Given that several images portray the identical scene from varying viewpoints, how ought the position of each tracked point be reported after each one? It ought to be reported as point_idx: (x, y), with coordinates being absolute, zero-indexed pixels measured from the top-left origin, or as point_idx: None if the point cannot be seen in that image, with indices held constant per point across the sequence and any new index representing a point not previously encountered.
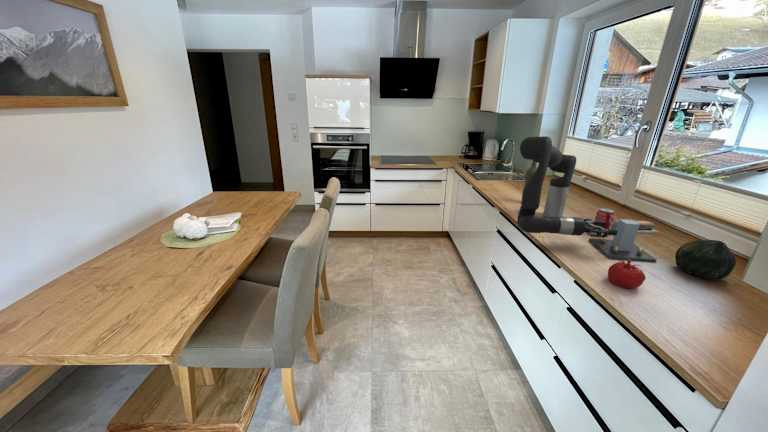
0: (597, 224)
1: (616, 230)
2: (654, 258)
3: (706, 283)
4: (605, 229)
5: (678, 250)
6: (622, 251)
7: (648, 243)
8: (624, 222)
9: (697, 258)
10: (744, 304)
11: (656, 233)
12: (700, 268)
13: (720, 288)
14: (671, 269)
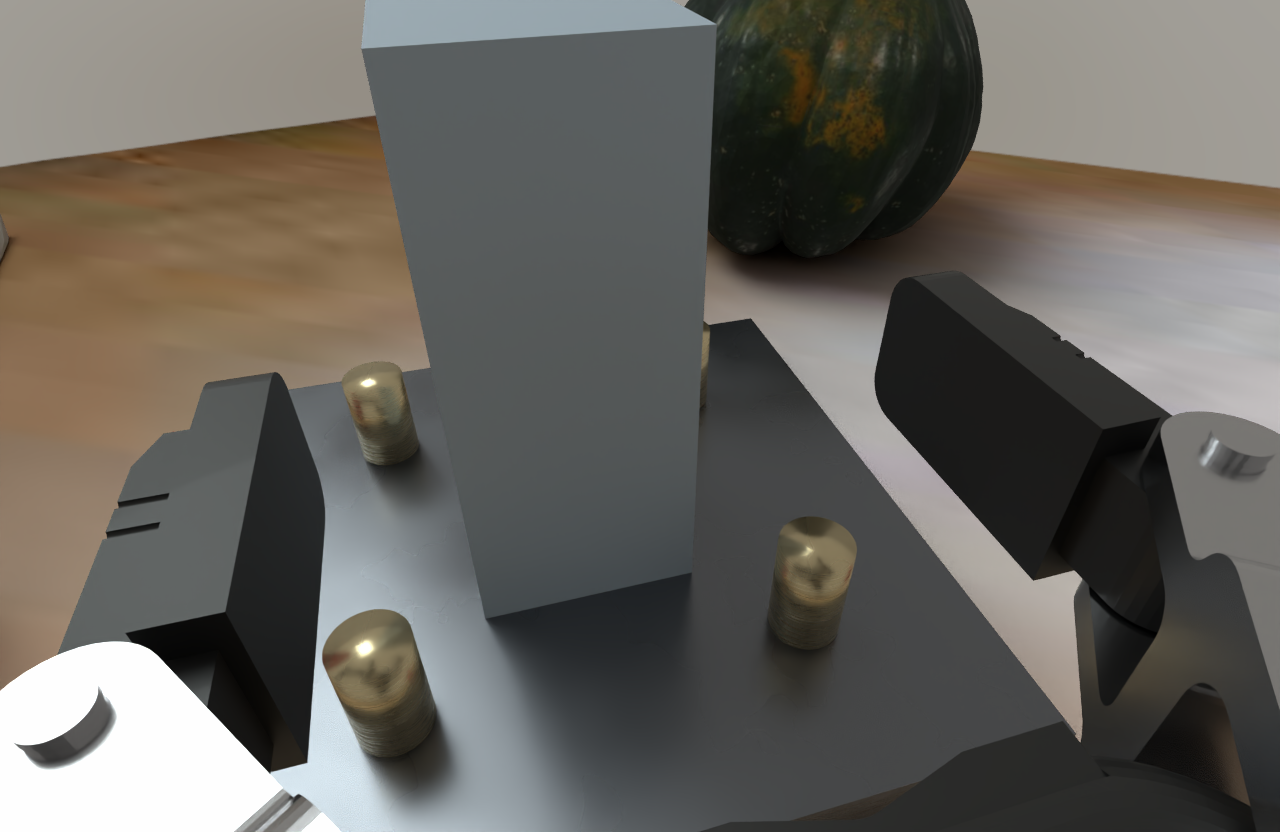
0: (271, 654)
1: (959, 275)
2: (729, 325)
3: (946, 226)
4: (1267, 462)
5: (763, 129)
6: (696, 524)
7: (253, 310)
8: (639, 28)
9: (973, 77)
10: (1108, 186)
11: (6, 239)
12: (969, 146)
13: (966, 203)
14: (838, 300)
